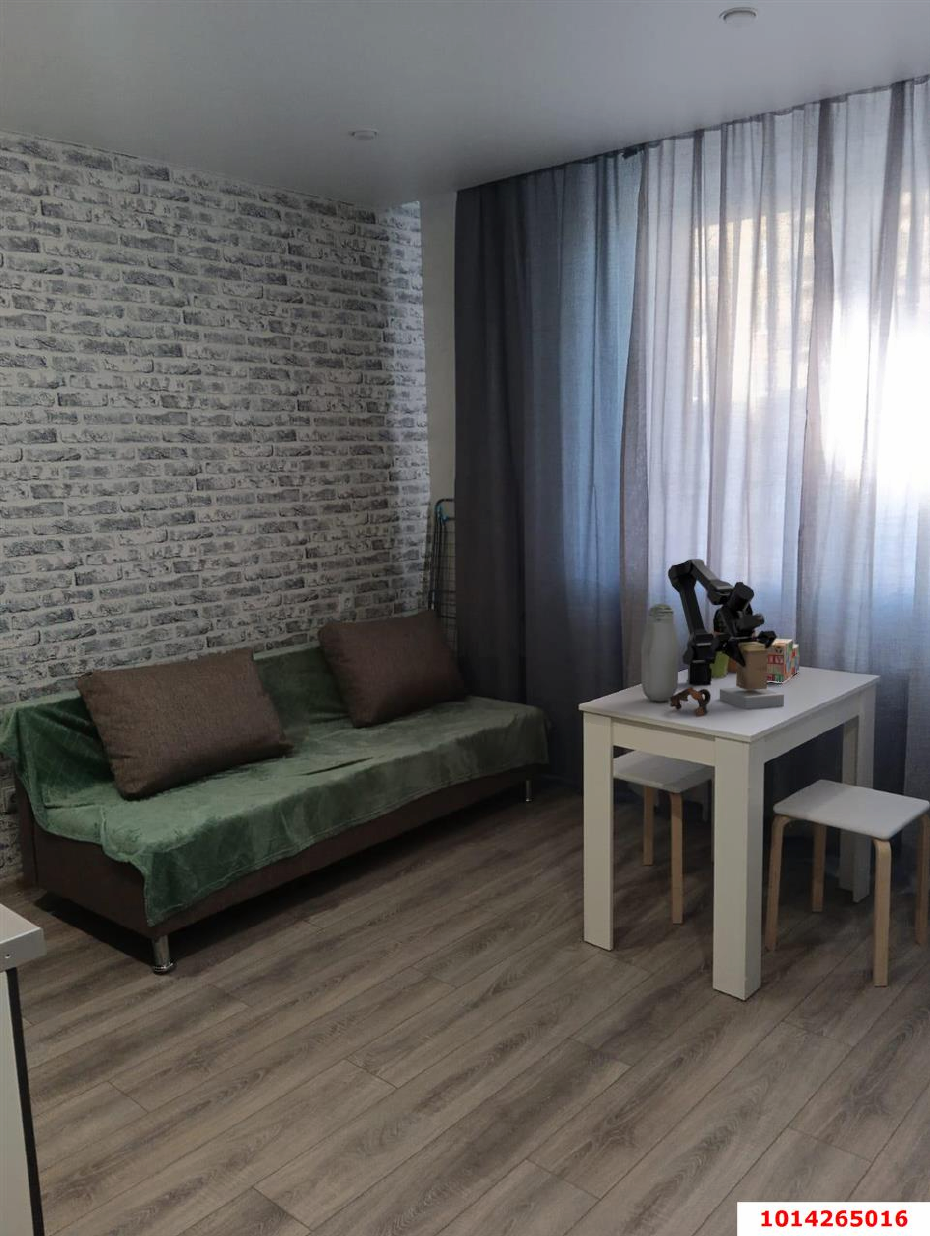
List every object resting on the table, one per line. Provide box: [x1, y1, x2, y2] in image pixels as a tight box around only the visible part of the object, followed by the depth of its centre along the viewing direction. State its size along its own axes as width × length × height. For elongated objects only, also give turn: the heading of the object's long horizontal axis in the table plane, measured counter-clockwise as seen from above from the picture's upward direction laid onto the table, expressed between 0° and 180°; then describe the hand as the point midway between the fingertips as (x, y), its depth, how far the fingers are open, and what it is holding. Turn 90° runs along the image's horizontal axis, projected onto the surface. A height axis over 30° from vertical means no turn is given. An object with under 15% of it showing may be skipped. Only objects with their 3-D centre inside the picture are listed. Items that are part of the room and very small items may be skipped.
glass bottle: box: [640, 603, 680, 703], centre depth 300 cm, size 10×10×28 cm
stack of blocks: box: [765, 638, 800, 682], centre depth 333 cm, size 21×6×12 cm, turn 150°
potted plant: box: [712, 602, 757, 673], centre depth 345 cm, size 14×14×25 cm
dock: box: [719, 686, 785, 710], centre depth 297 cm, size 14×12×3 cm
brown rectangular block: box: [735, 642, 767, 690], centre depth 296 cm, size 6×6×12 cm
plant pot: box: [710, 650, 729, 678], centre depth 337 cm, size 9×9×9 cm
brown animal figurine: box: [669, 685, 712, 717], centre depth 286 cm, size 12×10×8 cm
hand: (754, 665), depth 295 cm, fingers closed on brown rectangular block, 6 cm apart
